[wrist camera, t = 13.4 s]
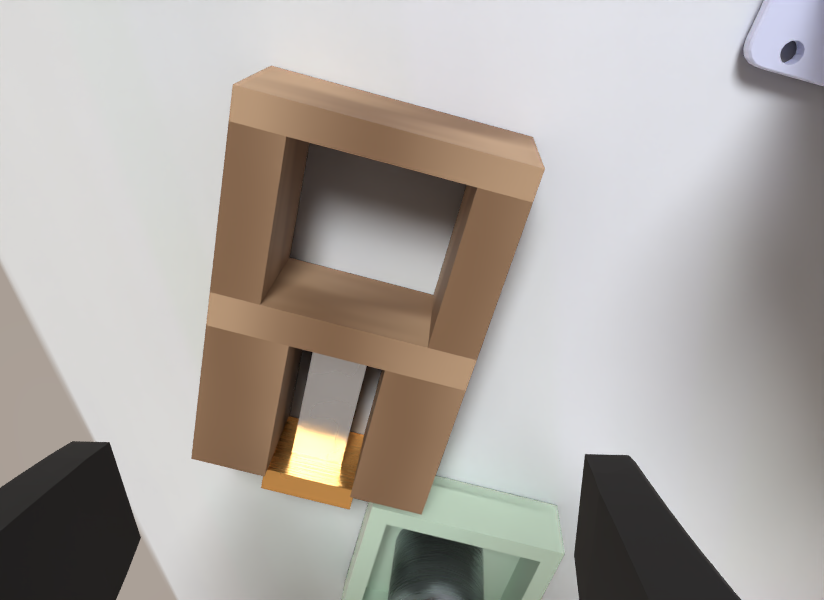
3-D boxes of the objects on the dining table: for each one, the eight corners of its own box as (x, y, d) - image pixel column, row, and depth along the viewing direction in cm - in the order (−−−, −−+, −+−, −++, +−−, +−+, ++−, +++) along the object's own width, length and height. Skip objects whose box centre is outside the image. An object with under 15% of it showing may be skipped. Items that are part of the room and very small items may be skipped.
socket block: (532, 137, 17) (544, 168, 14) (427, 448, 22) (421, 514, 19) (271, 65, 16) (232, 84, 14) (225, 398, 21) (191, 458, 19)
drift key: (399, 316, 19) (390, 363, 17) (361, 453, 22) (349, 509, 20) (310, 294, 19) (288, 337, 17) (282, 433, 22) (261, 487, 20)
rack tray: (556, 505, 22) (564, 553, 21) (501, 618, 25) (503, 669, 24) (380, 462, 22) (372, 507, 20) (344, 581, 25) (334, 630, 23)
